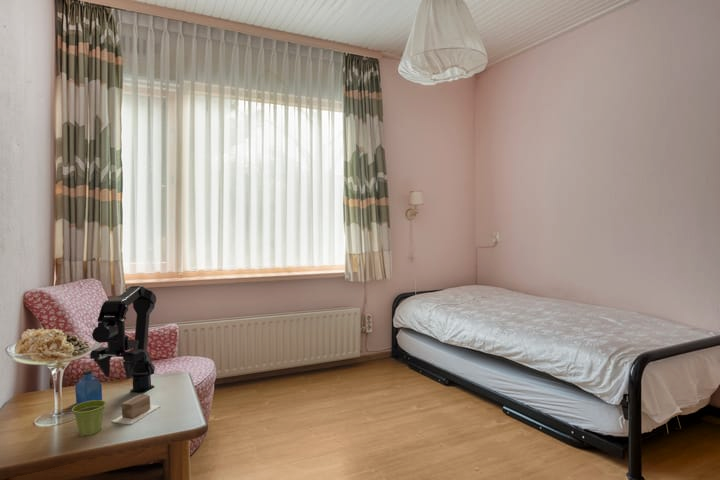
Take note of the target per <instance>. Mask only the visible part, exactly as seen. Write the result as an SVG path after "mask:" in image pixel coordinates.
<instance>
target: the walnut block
mask: <svg viewBox="0 0 720 480" xmlns="http://www.w3.org/2000/svg"><path fill="white" fill-rule="evenodd" d="M150 405H151V396H150V395H147V394H138V395H136V396H134V397H131V398H130V399H128V400H126V401H124V402H122V403H121V416H122V418H129V419H134V418H135V417H137V416H139V415H141V414H143V413H144V412H146V411H148V410H150Z"/></svg>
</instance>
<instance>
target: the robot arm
mask: <svg viewBox="0 0 720 480" xmlns="http://www.w3.org/2000/svg"><path fill="white" fill-rule="evenodd" d="M156 303H157V295H156V294H155V293H154V291H151V290H149V289H146V288H145V287H144V286H143V285H131V286H130V287H128V289H126V290H125V291H124V292H123V293H122V294H120V295H119V296H118V297H115V298H109V299H107V300H105V301H104V302H103V303H102V305H101V307H100V311H99V315H98V318H97V326H96V327H95V328H94V329H93V330H92V333H91V335H92V339H93V340H94V341H95V342H97V343H101V344H102V343H107V345H106V346H107V347H106V346H101V347H98V348H94V349H93V350H91V352H90V353H89V356H90V360H93V362H95V363H96V364H97V365H98V367H99V368H100V370H101V371H102V373H103V374H104V375H105V377H107V378H109V377H110V376H111V365H110V364H111V362H110V361H111V359H112V357H118V358H122V359H123V362H122V364H123V368H124V372H125V375H126V378H127V379H131V378H132V388H131V389H130V390H129V392H134V393H145V392H147V391H149V390H151V389H153V388H154V387H155V385H153V384H152V379H151V378H152V377H151V376H152V375H155V370H156V369H155V368H156V366H155V364H153V362H152V361H151V357H152V356H151V355H150V354H149V351H148V340H149V339H148V338H149V327H150V315H151V313H152V311H153V310H154V309H155V305H156ZM131 304H132V308H133V310H134V311H135V313H136V320H135V332H134V339H129V335H126V329H125V328H126V327H125V324H126V323H125V320H126V319H127V317H126V315H127V313H128V311H129V306H131Z"/></svg>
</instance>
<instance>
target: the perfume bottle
mask: <svg viewBox="0 0 720 480" xmlns="http://www.w3.org/2000/svg"><path fill="white" fill-rule="evenodd" d="M81 376H82V378H83V379H82V378H81V379H80V380H78V381H77V383H76V385H75V387H74V388H75V402H76V404H77V405H78V404H80V403H83V402H87V401H92V400H103V390H102V383H101V382H100V380H98V378H97V377H94V372H93V368H90V369H84V370H82V375H81Z"/></svg>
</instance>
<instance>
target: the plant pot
mask: <svg viewBox="0 0 720 480" xmlns="http://www.w3.org/2000/svg"><path fill="white" fill-rule="evenodd" d="M106 404H107V402H106V401H105V400H103V399H102V400H92V401H87V402H83V403H80V404H78V403H77V404H76V405H74V406H73V407H72V408H71V412H72V413H73V415H74V417H75V422H76V426H77V431H78V435H80V436H92V435H96V434H97V433H99V432H100V430H102V423H103V413H104V410H105V405H106Z"/></svg>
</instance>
